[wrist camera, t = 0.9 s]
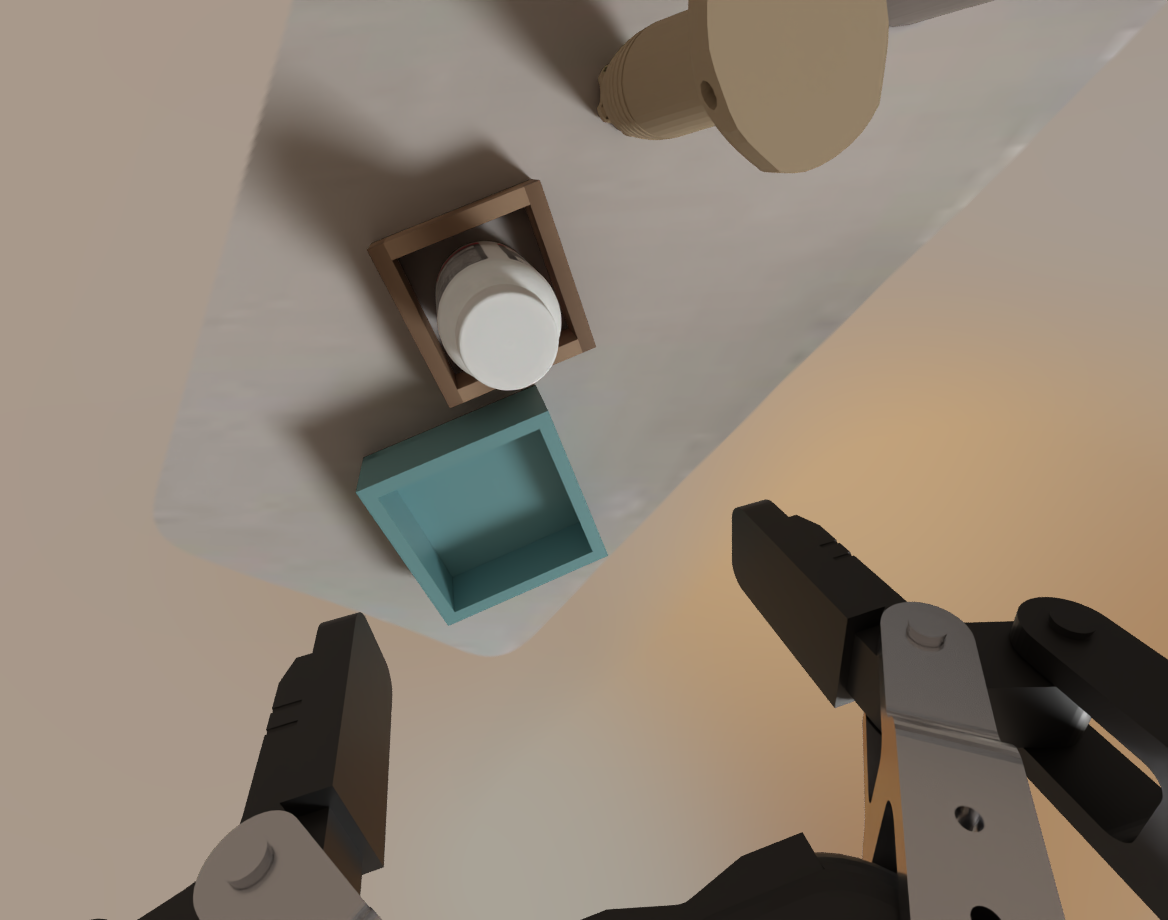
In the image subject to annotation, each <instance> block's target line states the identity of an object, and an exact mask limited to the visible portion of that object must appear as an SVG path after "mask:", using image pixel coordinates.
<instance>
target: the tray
mask: <svg viewBox="0 0 1168 920" xmlns="http://www.w3.org/2000/svg"><path fill="white" fill-rule="evenodd" d="M356 494H357V495H358V496H359V498H360V499H361V501H362V502H363V504H364V505H365V507H366V508H367V509H368V511H369V512H370V514H371V515H372V517H373V518H374V520H375V521H376V522H377V524H378V525H379V527H380V528H381V530H382V531H383V532H384V534H385V535H386V537H387V538H388V540H389V541H390V543H391V544H392V545H393V547H394V548H395V550H396V551H397V553H398V554H399V556H400V557H401V558H402V560H403V561H404V563H405V564H406V566H407V567H408V568H409V570H410V571H411V573H412V574H413V576H414V577H415V579H416V580H417V581H418V583H419V584H420V586H421V587H422V589H423V590H424V592H425V593H426V594H427V596H428V597H429V599H430V600H431V602H432V603H433V604H434V606H435V607H436V609H437V610H438V612H439V613H440V615H441V616H442V617H443V619H444V620H445V622H446V623H447V625H448V626H449V625H452V624H454V623H456V622H458V621H461V620H463V619H465V618H467V617H470V616H472V615H474V614H476V613H479V612H481V611H483V610H486V609H488V608H490V607H492V606H495V605H497V604H499V603H501V602H504V601H506V600H508V599H511V598H513V597H515V596H517V595H520V594H522V593H524V592H526V591H529V590H531V589H533V588H536V587H538V586H540V585H542V584H545V583H547V582H549V581H551V580H554V579H556V578H558V577H560V576H563V575H565V574H567V573H570V572H572V571H574V570H576V569H579V568H581V567H583V566H585V565H588V564H590V563H592V562H595V561H597V560H599V559H601V558H604V557H606V556H608V554H607V552H606V549H605V547H604V544H603V542H602V540H601V537H600V535H599V532H598V530H597V528H596V525H595V523H594V520H593V518H592V515H591V513H590V511H589V508H588V506H587V503H586V501H585V499H584V496H583V494H582V491H581V489H580V487H579V484H578V482H577V479H576V477H575V475H574V472H573V470H572V467H571V465H570V462H569V460H568V458H567V455H566V453H565V450H564V448H563V446H562V443H561V441H560V438H559V436H558V434H557V431H556V429H555V426H554V424H553V421H552V419H551V417H550V414H549V412H548V410H547V408H546V406H545V403H544V401H543V399H542V397H541V395H540V393H539V391H538V389H537V387H536V385H535V386H532V387H530V388H528V389H525V390H523V391H521V392H518V393H516V394H514V395H511V396H509V397H506V398H504V399H502V400H499V401H497V402H495V403H492V404H490V405H487V406H485V407H483V408H480V409H478V410H476V411H473V412H471V413H468V414H466V415H464V416H461V417H459V418H457V419H454V420H452V421H449V422H447V423H445V424H442V425H440V426H438V427H435V428H433V429H430V430H428V431H426V432H423V433H421V434H419V435H416V436H414V437H411V438H409V439H407V440H404V441H402V442H400V443H397V444H395V445H392V446H390V447H388V448H385V449H383V450H381V451H378V452H376V453H373V454H371V455H369V456H366V457H364V458H363V462H362V466H361V471H360V475H359V480H358V484H357V489H356Z"/></svg>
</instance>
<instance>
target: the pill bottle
mask: <svg viewBox="0 0 1168 920" xmlns="http://www.w3.org/2000/svg"><path fill="white" fill-rule="evenodd" d="M435 298H436V311H437V326H438V332H439V335H440V338H441V341H442V344H443V346H444V348H445V350H446V351H447V353H448V355H449V356H450V358H451V359H452V360H453V361H454V362H455V363H456V364H457V365H458V366H459V367H460V368H461V369H462V370H464V371H465V372H466V373H468V374H470V375H471V376H473V377H475V378H476V379H477V380H478V381H480V382H481V383H483V384H485V385H487V386H489V387H491V388H495V389H499V390H517V389H522V388H525V387H527V386H530V385H532V384H534V383H535V382H537V381H538V380H539V379H541V378H542V377H543V376H544V375H545V374H546V373H547V372H548V370H549V369H550V368H551V366H552V364H553V363H554V360H555V358H556V355H557V351H558V344H559V337H560V332H561V312H560V307H559V303H558V300H557V298H556V296H555V293H554V291H553V290H552V288H551V286H550V285H549V283H548V282H547V281H546V280H545V278H544V277H543V276H542V275H541V274H540V273H539V272H537V271H536V270H535V269H534V268H533V267H532V266H531V265H530V264H529V263H528V262H527V261H526V260H525V259H524V258H523V257H522V256H520V255H519V254H518V253H517V252H516V251H514V250H513V249H511V248H509V247H507V246H505V245H503V244H500V243H497V242H491V241H477V242H472V243H469V244H466V245H464V246H462V247H460V248H458V249H457V250H456V251H454V252H453V253H452V254H451V255H450V256H449V257H448V258H447V259H446V261H445V262H444V263H443V265H442V267H441V269H440V271H439V274H438V277H437V281H436V289H435Z"/></svg>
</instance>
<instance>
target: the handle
mask: <svg viewBox="0 0 1168 920" xmlns="http://www.w3.org/2000/svg"><path fill="white" fill-rule="evenodd" d="M888 29H889V20H888V11H887V2H886V0H689V3H688V10H686V11H683V12H681V13H678V14H675V15H673V16H670V17H668V18H665V19H662V20H660V21H657V22H655V23H653V24H651V25H650V26H648V27H646V28H645V29H643V30H641V31H640V32H638V33H637V34H635V35H634V36H633V37H632V38H631V39H629V40H628V41H627V42H626V43H625V44H624V45H623V46H622V47H621V48H620V49H619V51H618V52H617V53H616V54H615V56H614V57H613V58H612V60H611V62H610V63H609V65H606V66H605V67H604V68H603V69H602V71H601V73H600V75H599V77H598V82H599V85H600V102H599V106H598V107H597V111H598V114H599V116H600V118H601V119H602V121H603V122H608V123H612V124H613V125H614V126H615V127H616V128H617V129H618V130H620V131H622V133H623V134H624V135H626V136H633V137H636V138H641V139H648V140H663V139H670V138H676V137H680V136H683V135H686V134H690V133H693V132H696V131H699V130H703V129H706V128H709V127H713V126H716V127H717V129H718V130H719V131H720V132H721V133H722V135H723V136H724V137H725V138H726V139H727V141H728V142H729V143H730V144H731V145H732V146H733V147H734V148H735V149H736V150H737V151H738V152H739V153H740V154H741V155H743V156H744V157H745V158H746V159H747V160H748V161H749V162H751V163H752V164H753V165H754V166H756V167H757V168H758V169H759V170H761V171H763V172H773V173H798V172H806V171H808V170H811V169H813V168H816V167H819V166H821V165H822V164H824V163H826V162H828V161H829V160H831V159H833V158H834V157H836V156H837V155H838V154H839V153H841V152H842V151H843V150H844V149H846V148H847V147H848V146H849V145H850V144H851V143H852V142H853V141H854V140H855V139H856V138H857V137H858V136H859V135H860V134H861V133H862V132H863V130H864V129H865V127H866V126H867V124H868V123H869V121H870V120H871V119H872V117H873V115H874V113H875V111H876V109H877V108H878V106H879V103H880V97H881V90H882V83H883V77H884V70H885V62H886V55H887V47H888Z"/></svg>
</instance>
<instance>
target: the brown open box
mask: <svg viewBox="0 0 1168 920" xmlns="http://www.w3.org/2000/svg"><path fill="white" fill-rule="evenodd" d="M523 207H525V210H526V212H527V215H528V218H529V221H530V224H531V226H532V229H533V232H534V235H535V237H536V240H537V243H538V246H539V249H540V251H541V254H542V257H543V260H544V262H545V265H546V268H547V271H548V274H549V276H550V279H551V282H552V285H553V288H554V290H555V293H556V296H557V299H558V301H559V304H560V307H561V310H562V313H563V315H564V318H565V321H566V324H567V327H568V328H565V329H563V330H561V332H560V337H559V344H558V351H557V355H556V358H555V360H554V363H553V364H552V365H554V364H557V363H559V362H561V361H564V360H566V359H569V358H571V357H573V356H576V355H578V354H581V353H583V352H585V351H588V350H590V349H592V348H595V347H596V345H595V342H594V339H593V336H592V333H591V330H590V327H589V324H588V321H587V319H586V316H585V313H584V310H583V307H582V304H581V301H580V298H579V295H578V292H577V289H576V286H575V283H574V280H573V277H572V274H571V271H570V268H569V265H568V262H567V259H566V256H565V253H564V250H563V247H562V244H561V241H560V238H559V235H558V232H557V230H556V227H555V224H554V221H553V218H552V215H551V212H550V209H549V206H548V203H547V200H546V197H545V194H544V191H543V188H542V185H541V182H540V180H534V179H530V180H528V181H525V182H523V183H520V184H518V185H515V186H513V187H510V188H508V189H505V190H503V191H500V192H498V193H495V194H493V195H490V196H488V197H485V198H483V199H481V200H478V201H476V202H473V203H471V204H468V205H466V206H463V207H461V208H458V209H456V210H453V211H451V212H448V213H446V214H443V215H441V216H438V217H436V218H433V219H431V220H428V221H426V222H423V223H421V224H418V225H416V226H413V227H411V228H408V229H406V230H403V231H401V232H398V233H396V234H393V235H391V236H388V237H386V238H383V239H381V240H378V241H376V242H373V243H372V244H371V245H370V246H369V248H368V249H367V251H368V253H369V255H370V257H371V259H372V261H373V262H374V264H375V266H376V268H377V270H378V272H379V274H380V276H381V278H382V280H383V282H384V283H385V285H386V287H387V289H388V291H389V293H390V295H391V297H392V299H393V301H394V303H395V304H396V306H397V308H398V310H399V312H400V314H401V316H402V318H403V320H404V322H405V324H406V325H407V327H408V329H409V331H410V333H411V335H412V337H413V339H414V341H415V343H416V345H417V346H418V348H419V350H420V352H421V354H422V356H423V358H424V360H425V362H426V364H427V366H428V368H429V369H430V371H431V373H432V375H433V377H434V379H435V381H436V383H437V385H438V387H439V389H440V390H441V392H442V394H443V396H444V398H445V400H446V402H447V404H448V406H449V408H452V407H454V406H457V405H459V404H462V403H464V402H466V401H469V400H471V399H473V398H476V397H478V396H481V395H483V394H485V393H488V392H490V391H492V390H495V388H491V387H489V386H487V385H485V384H483V383H481V382H480V381H478V380H477V379H476V378H475V377H473V376H471V375H470V374H468V373H466V372H465V371H462V372H460V373H458V374H455V373H454V371H453V369H452V367H451V365H450V363H449V361H448V359H447V357H446V355H445V353H444V351H443V349H442V347H441V345H440V343H439V341H438V339H437V337H436V335H435V333H434V331H433V329H432V327H431V325H430V323H429V321H428V319H427V317H426V315H425V313H424V311H423V309H422V307H421V305H420V303H419V301H418V299H417V297H416V295H415V293H414V291H413V289H412V287H411V285H410V283H409V281H408V279H407V277H406V275H405V273H404V271H403V269H402V267H401V265H400V263H399V261H398V259H397V258H399V257H402V256H404V255H407V254H409V253H412V252H414V251H417V250H419V249H421V248H424V247H426V246H429V245H431V244H434V243H436V242H439V241H441V240H444V239H446V238H449V237H451V236H454V235H456V234H459V233H461V232H464V231H466V230H468V229H471V228H473V227H476V226H478V225H481V224H483V223H486V222H488V221H491V220H493V219H496V218H498V217H501V216H503V215H506V214H508V213H511V212H513V211H516V210H518V209H520V208H523Z"/></svg>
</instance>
